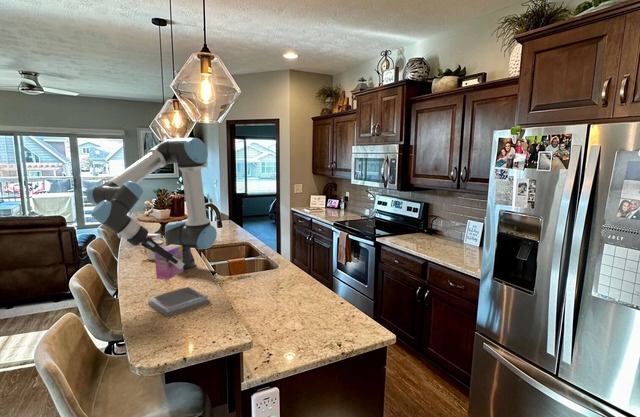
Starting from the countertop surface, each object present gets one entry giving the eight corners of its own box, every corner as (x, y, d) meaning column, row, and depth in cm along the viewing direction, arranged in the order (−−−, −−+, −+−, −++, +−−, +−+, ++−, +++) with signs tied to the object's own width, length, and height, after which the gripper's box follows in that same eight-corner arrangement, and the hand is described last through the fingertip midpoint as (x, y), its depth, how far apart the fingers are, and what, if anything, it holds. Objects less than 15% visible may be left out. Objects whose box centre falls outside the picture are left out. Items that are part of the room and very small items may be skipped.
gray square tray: (189, 292, 140) (189, 289, 140) (209, 303, 129) (209, 300, 129) (148, 304, 128) (148, 301, 128) (167, 316, 117) (166, 313, 117)
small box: (144, 252, 207) (143, 235, 206) (150, 249, 213) (149, 233, 211) (156, 252, 206) (155, 235, 205) (161, 250, 211) (160, 233, 210)
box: (168, 279, 137) (166, 251, 135) (156, 279, 138) (154, 250, 137) (184, 271, 147) (182, 244, 145) (172, 271, 148) (170, 244, 147)
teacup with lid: (164, 255, 199) (163, 235, 198) (164, 259, 191) (163, 238, 190) (141, 257, 194) (139, 237, 193) (140, 261, 186) (139, 240, 185)
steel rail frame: (188, 290, 139) (188, 287, 139) (207, 300, 129) (207, 296, 129) (150, 301, 128) (149, 297, 128) (167, 312, 118) (167, 308, 118)
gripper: (118, 235, 138) (161, 265, 151) (134, 245, 122) (181, 277, 134) (131, 221, 141) (173, 251, 154) (149, 228, 124) (194, 261, 137)
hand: (177, 263), depth 144 cm, fingers closed on box, 10 cm apart
